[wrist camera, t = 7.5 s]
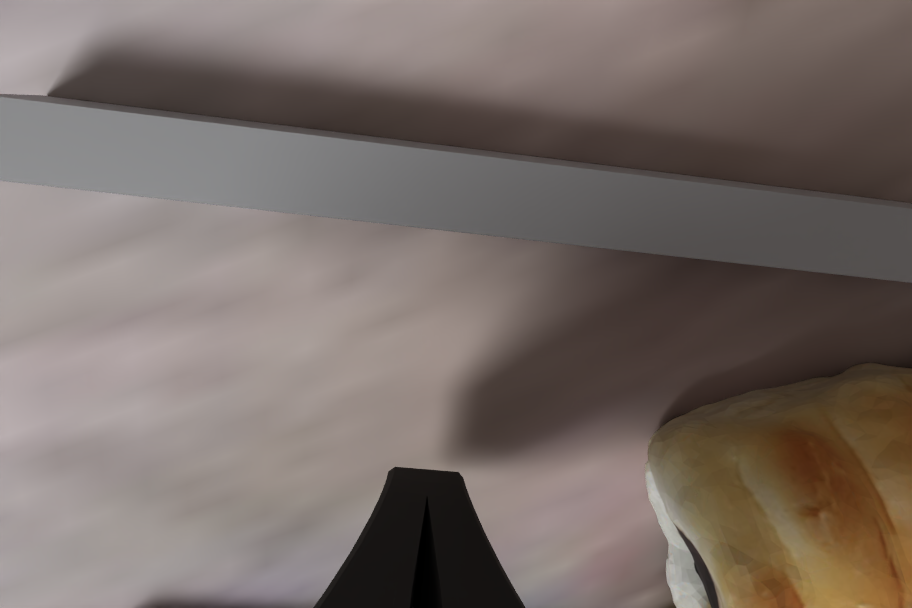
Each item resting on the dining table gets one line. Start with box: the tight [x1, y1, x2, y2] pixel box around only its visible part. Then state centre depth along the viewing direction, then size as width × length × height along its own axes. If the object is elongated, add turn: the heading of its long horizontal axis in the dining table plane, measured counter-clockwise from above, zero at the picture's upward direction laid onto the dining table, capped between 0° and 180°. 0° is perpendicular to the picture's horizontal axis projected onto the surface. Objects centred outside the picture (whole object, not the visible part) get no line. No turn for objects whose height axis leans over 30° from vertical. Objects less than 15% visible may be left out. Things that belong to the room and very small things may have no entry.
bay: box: [0, 94, 912, 283], centre depth 10 cm, size 13×23×3 cm, turn 83°
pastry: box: [645, 363, 912, 608], centre depth 11 cm, size 9×7×4 cm
